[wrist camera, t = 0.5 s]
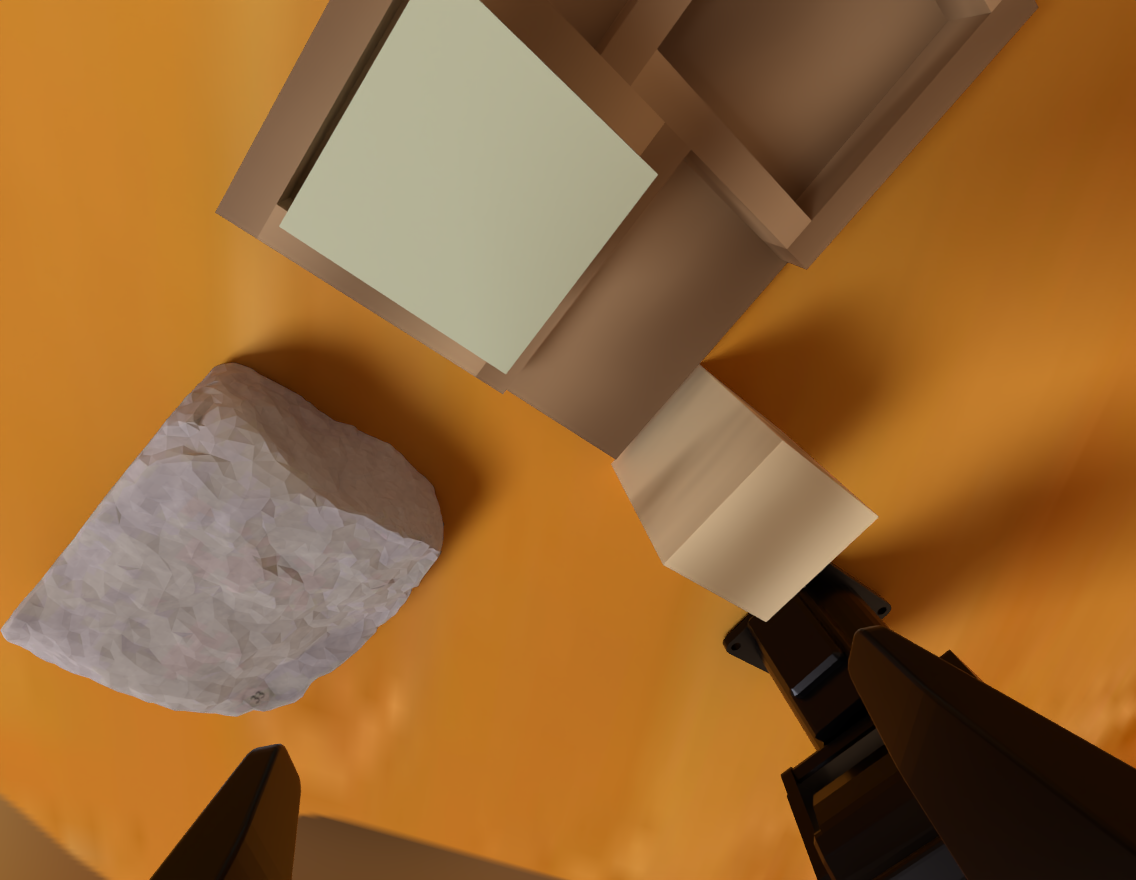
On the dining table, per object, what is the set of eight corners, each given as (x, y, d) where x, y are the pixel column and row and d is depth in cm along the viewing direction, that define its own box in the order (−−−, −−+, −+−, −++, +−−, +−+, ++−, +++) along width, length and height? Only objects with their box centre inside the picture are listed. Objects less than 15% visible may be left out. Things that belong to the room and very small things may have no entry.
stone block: (463, 463, 23) (204, 324, 17) (487, 551, 20) (172, 415, 14) (293, 636, 26) (21, 572, 20) (288, 740, 23) (-44, 700, 17)
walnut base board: (993, 3, 17) (1065, -12, 15) (610, 448, 22) (627, 481, 20) (673, -580, 11) (723, -731, 9) (238, 209, 16) (210, 221, 14)
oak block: (780, 429, 23) (878, 516, 18) (696, 517, 25) (766, 621, 20) (698, 363, 21) (783, 440, 16) (611, 463, 23) (663, 564, 17)
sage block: (587, 158, 16) (658, 174, 11) (485, 301, 18) (505, 374, 13) (434, 17, 14) (434, -44, 9) (330, 192, 16) (279, 226, 10)
